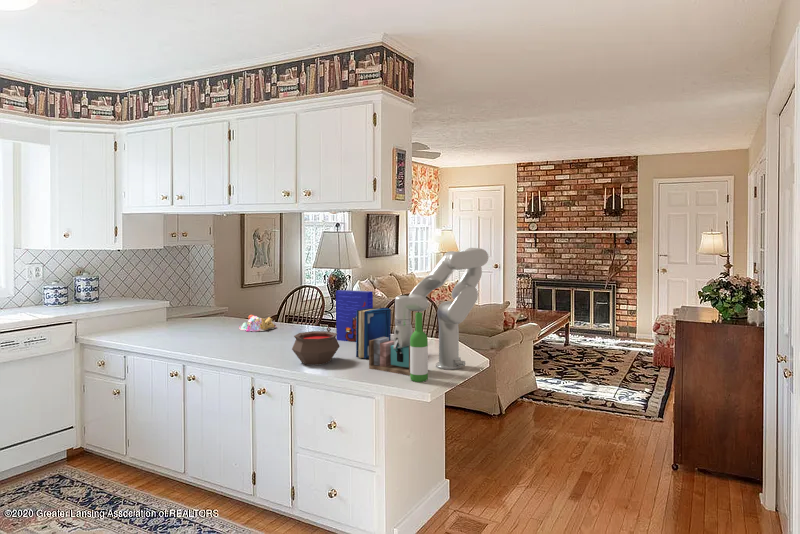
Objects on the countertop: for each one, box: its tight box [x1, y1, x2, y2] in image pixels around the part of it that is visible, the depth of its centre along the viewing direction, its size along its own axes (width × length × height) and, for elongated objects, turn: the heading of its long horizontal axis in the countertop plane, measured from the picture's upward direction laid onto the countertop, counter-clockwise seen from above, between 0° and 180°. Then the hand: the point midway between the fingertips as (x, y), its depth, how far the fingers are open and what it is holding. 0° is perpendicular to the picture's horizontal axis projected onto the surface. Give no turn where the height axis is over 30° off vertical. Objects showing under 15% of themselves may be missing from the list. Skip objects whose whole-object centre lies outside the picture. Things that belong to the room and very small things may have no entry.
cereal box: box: [335, 289, 374, 343], centre depth 336 cm, size 22×6×30 cm, turn 64°
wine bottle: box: [409, 311, 429, 383], centre depth 248 cm, size 8×8×30 cm
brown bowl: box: [291, 326, 341, 366], centre depth 284 cm, size 24×24×16 cm
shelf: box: [368, 337, 410, 376], centre depth 268 cm, size 24×12×14 cm, turn 55°
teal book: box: [391, 345, 409, 368], centre depth 266 cm, size 11×4×9 cm, turn 55°
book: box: [355, 307, 392, 360], centre depth 297 cm, size 22×7×25 cm, turn 141°
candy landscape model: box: [238, 314, 277, 332], centre depth 379 cm, size 25×24×9 cm
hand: (403, 360), depth 266 cm, fingers closed on teal book, 4 cm apart
